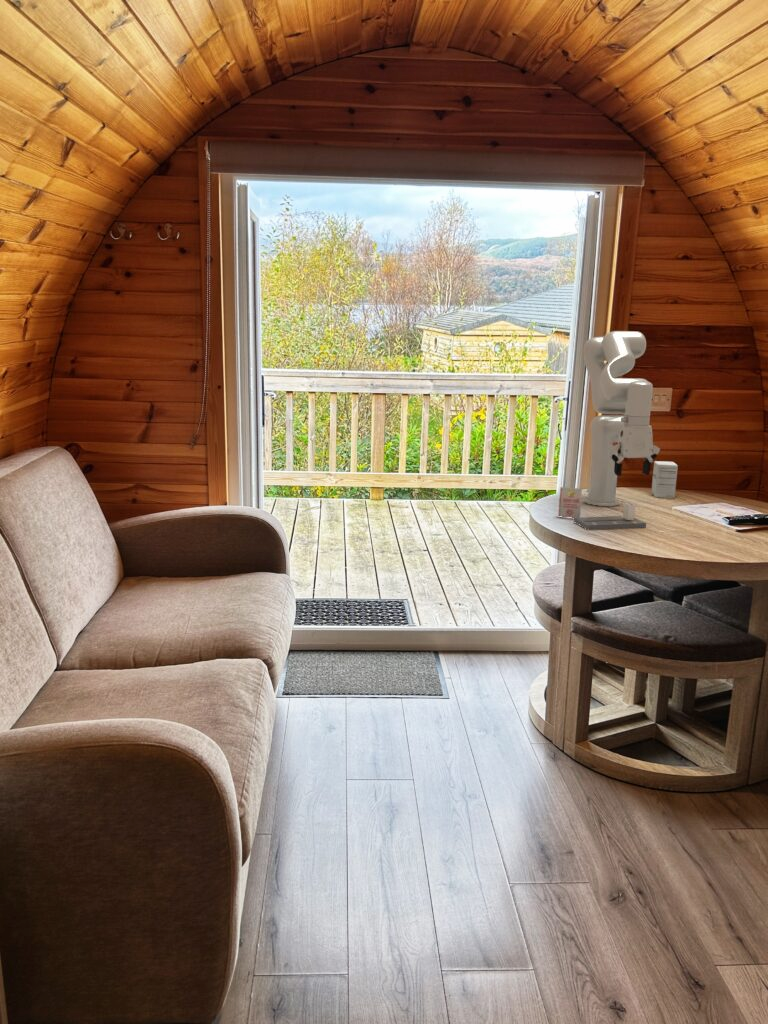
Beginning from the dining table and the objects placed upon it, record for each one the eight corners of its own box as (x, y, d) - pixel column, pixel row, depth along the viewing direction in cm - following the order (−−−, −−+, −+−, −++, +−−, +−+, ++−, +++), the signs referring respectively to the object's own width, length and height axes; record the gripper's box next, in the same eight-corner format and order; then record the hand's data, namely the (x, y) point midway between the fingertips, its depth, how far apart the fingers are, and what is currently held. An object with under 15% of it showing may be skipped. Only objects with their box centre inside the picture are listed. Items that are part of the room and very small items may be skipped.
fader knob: (622, 517, 260) (623, 502, 259) (629, 517, 260) (630, 502, 259) (627, 520, 257) (628, 504, 256) (634, 519, 257) (635, 504, 256)
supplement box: (650, 493, 306) (653, 460, 303) (670, 494, 305) (674, 461, 302) (654, 497, 299) (657, 464, 296) (675, 498, 298) (678, 464, 295)
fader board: (573, 522, 260) (574, 517, 260) (630, 520, 264) (630, 515, 264) (587, 530, 251) (587, 525, 251) (645, 527, 255) (646, 522, 255)
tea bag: (559, 515, 270) (561, 486, 267) (579, 516, 268) (581, 487, 265) (558, 517, 266) (560, 488, 264) (579, 519, 264) (581, 489, 262)
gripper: (617, 423, 246) (612, 477, 250) (668, 422, 249) (662, 476, 254) (605, 419, 253) (601, 472, 258) (655, 418, 257) (650, 471, 261)
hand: (631, 474), depth 256 cm, fingers open, 9 cm apart
